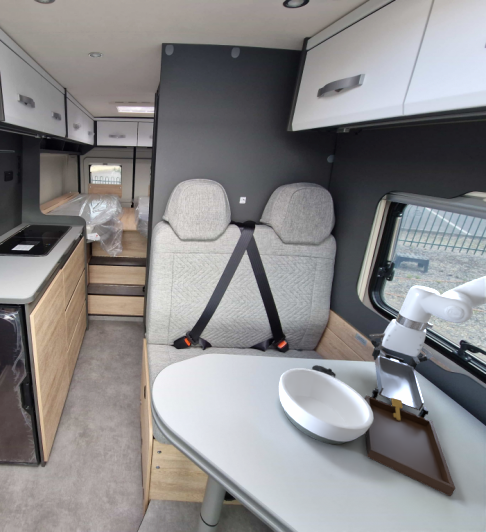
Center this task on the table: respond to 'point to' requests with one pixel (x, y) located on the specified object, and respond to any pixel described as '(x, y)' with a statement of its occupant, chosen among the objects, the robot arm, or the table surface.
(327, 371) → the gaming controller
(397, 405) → the key
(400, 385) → the shallow grey bin
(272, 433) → the table surface
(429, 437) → the tray
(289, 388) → the bowl
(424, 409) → the stand
